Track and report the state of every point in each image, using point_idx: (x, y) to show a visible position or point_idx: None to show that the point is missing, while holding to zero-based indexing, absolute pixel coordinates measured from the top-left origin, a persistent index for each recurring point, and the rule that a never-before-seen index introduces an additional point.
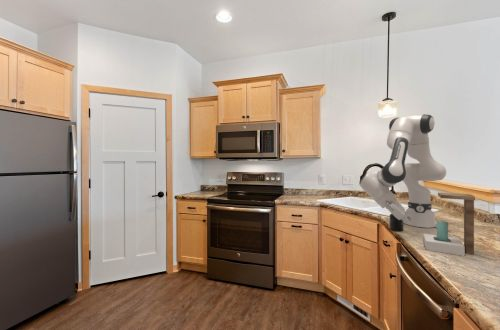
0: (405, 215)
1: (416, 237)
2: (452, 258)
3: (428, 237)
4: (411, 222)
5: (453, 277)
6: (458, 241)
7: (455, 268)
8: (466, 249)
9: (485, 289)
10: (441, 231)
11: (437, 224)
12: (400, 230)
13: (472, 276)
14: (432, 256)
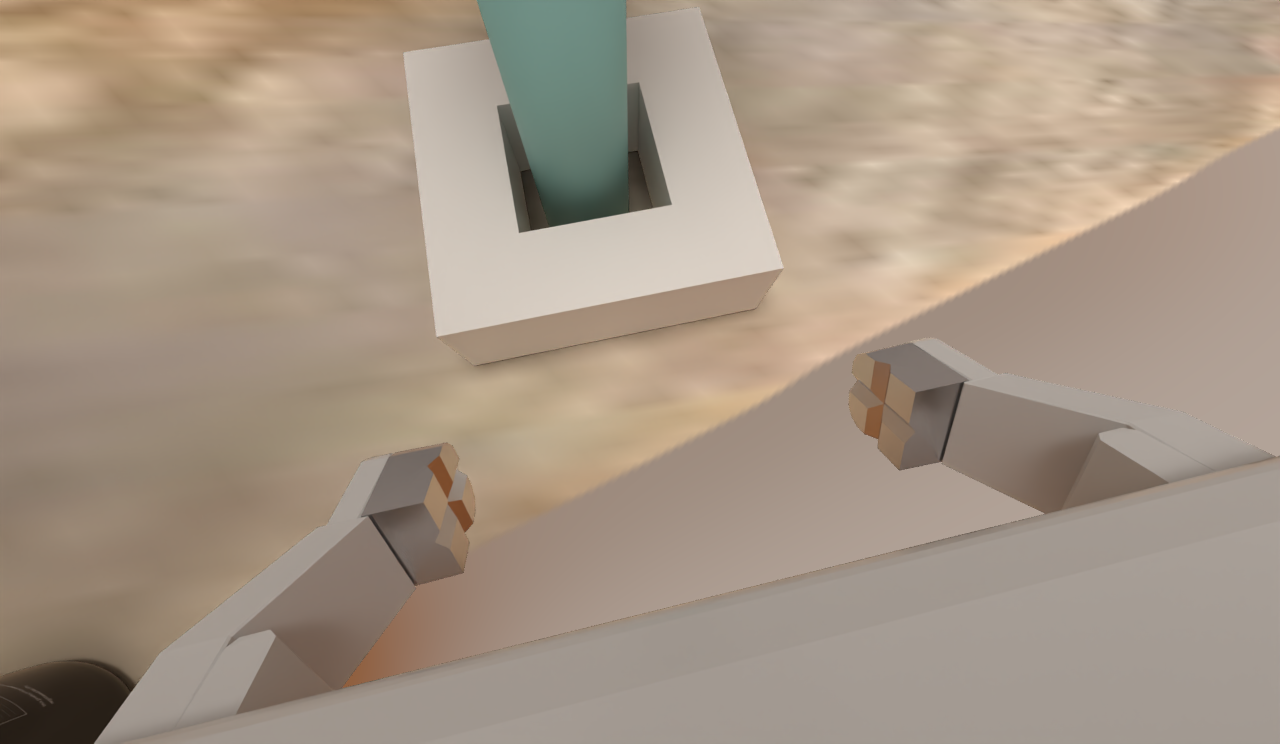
0: (332, 614)
1: (333, 451)
2: (820, 139)
3: (598, 266)
4: (939, 341)
5: (1201, 115)
6: None
7: (1026, 115)
8: None
9: (1211, 5)
10: (625, 65)
11: (592, 13)
12: (117, 691)
13: (1078, 46)
14: (897, 245)
